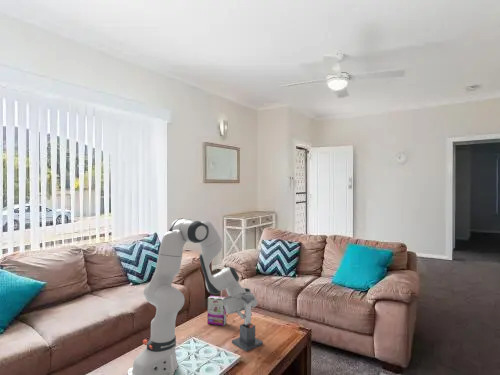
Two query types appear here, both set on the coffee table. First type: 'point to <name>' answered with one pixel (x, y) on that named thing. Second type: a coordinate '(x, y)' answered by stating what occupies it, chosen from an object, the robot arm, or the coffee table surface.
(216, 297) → the candy bar box
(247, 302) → the steel post
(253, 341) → the jack stand base
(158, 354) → the robot arm
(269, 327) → the coffee table surface
